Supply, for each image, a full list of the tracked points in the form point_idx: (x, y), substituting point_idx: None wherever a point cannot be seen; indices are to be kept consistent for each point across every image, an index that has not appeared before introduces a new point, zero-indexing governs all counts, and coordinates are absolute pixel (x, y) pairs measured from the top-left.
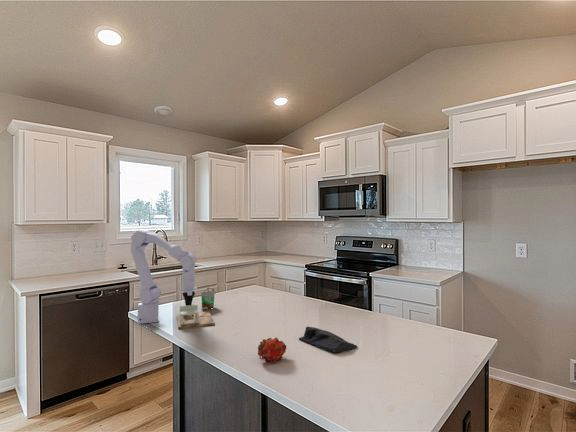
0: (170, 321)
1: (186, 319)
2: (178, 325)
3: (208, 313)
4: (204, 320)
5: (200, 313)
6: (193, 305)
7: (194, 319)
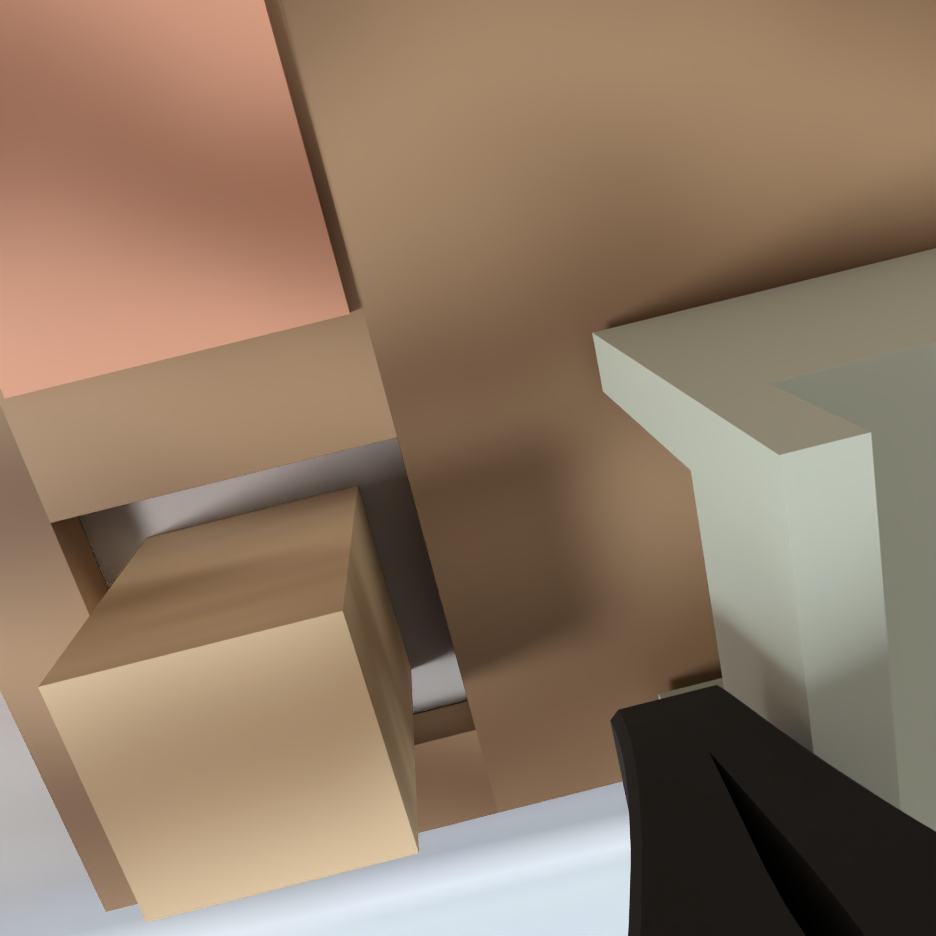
0: (464, 901)
1: (547, 609)
2: None
3: (1, 15)
4: (742, 94)
5: (11, 308)
6: (881, 615)
7: (586, 406)
